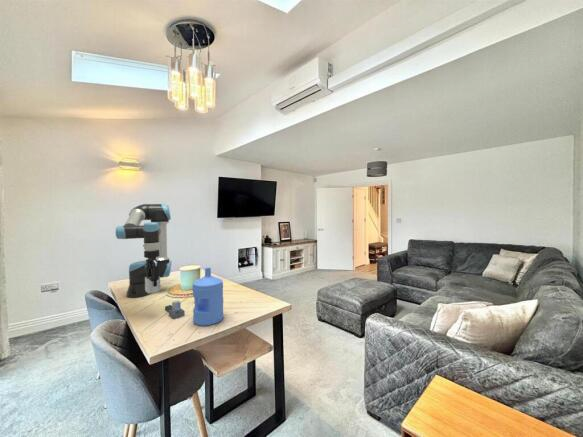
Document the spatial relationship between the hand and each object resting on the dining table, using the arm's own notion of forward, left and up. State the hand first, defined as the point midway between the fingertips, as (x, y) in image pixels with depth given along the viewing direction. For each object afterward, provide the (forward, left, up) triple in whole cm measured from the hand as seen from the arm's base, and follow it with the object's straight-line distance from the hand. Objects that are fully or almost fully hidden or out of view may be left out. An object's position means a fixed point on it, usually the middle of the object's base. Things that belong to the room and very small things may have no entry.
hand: (152, 290), depth 137 cm
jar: (-1, +29, -15) cm, 32 cm away
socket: (0, 0, 0) cm, 0 cm away
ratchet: (+5, +9, -14) cm, 18 cm away
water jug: (+28, +19, -15) cm, 37 cm away
